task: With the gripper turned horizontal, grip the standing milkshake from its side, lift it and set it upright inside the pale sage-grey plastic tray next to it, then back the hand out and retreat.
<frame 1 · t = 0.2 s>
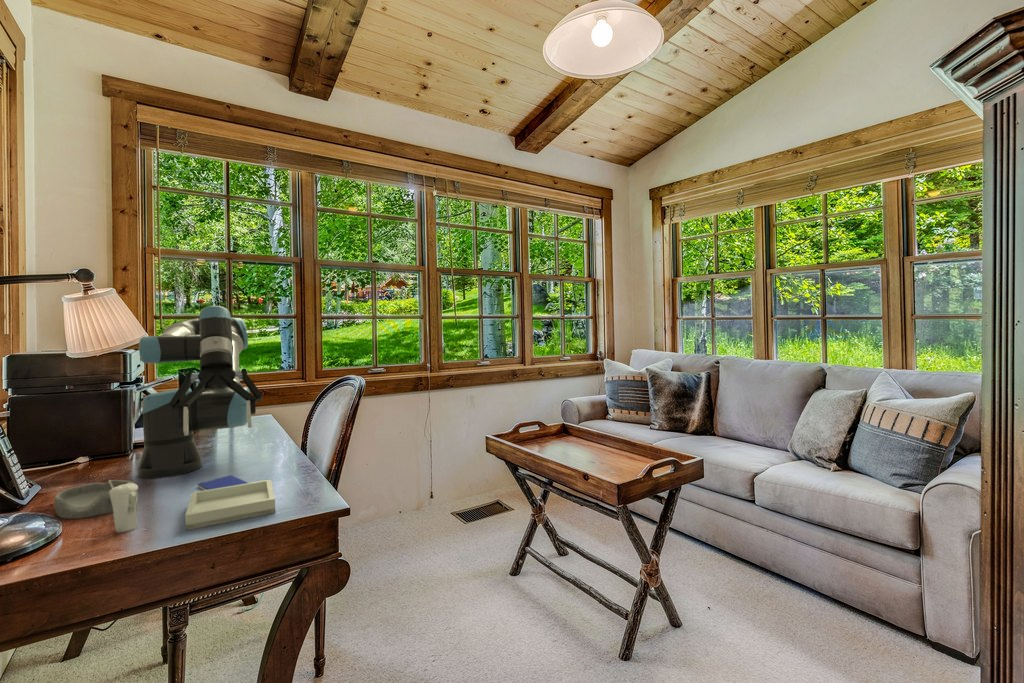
hand: (218, 429, 119), 15 cm above the table, tool tilted 35°, fingers open, 13 cm apart
milkshake: (124, 530, 97), on the table
tray: (233, 508, 106), on the table
hard drive: (225, 490, 122), on the table
dish: (97, 510, 109), on the table
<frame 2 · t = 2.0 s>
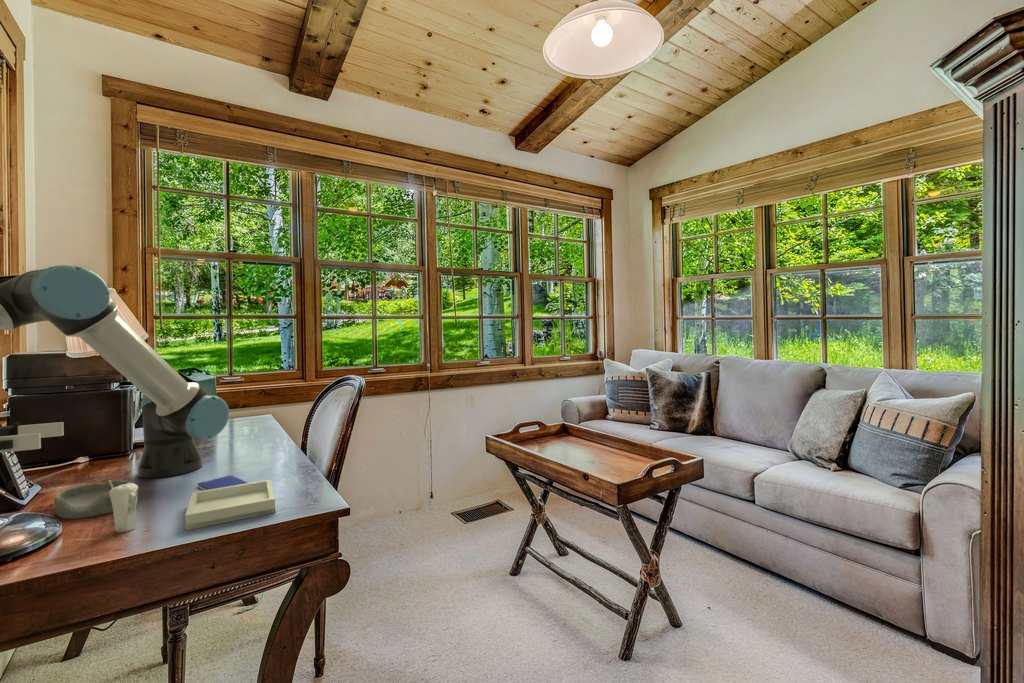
hand: (52, 434, 91), 21 cm above the table, tool horizontal, fingers open, 13 cm apart
nothing on the table moved.
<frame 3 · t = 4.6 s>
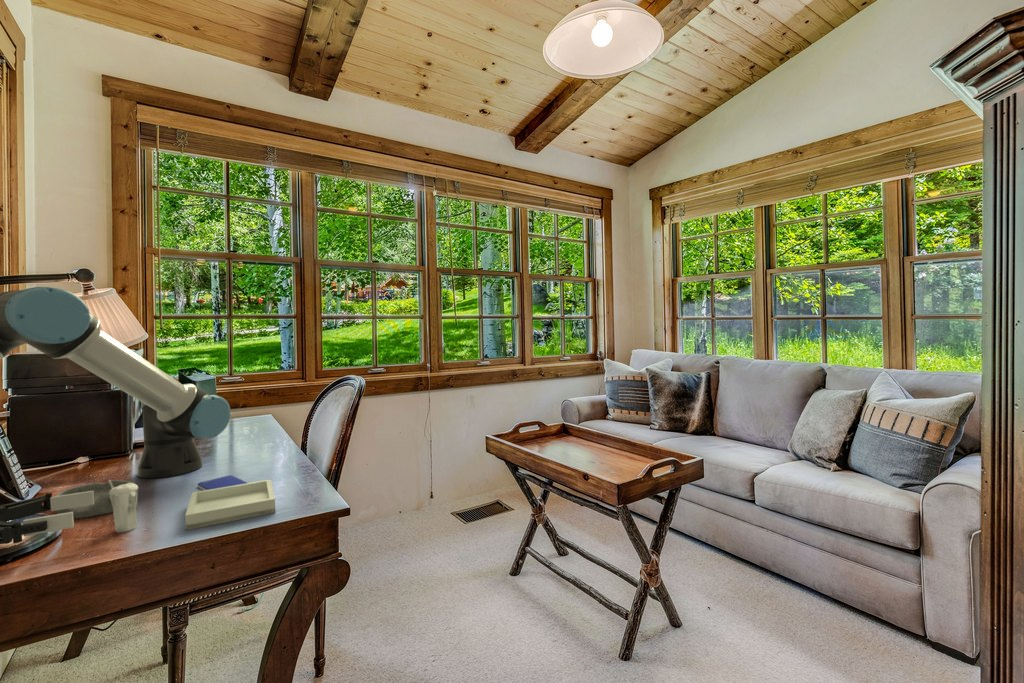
hand: (84, 507, 93), 6 cm above the table, tool horizontal, fingers open, 13 cm apart
nothing on the table moved.
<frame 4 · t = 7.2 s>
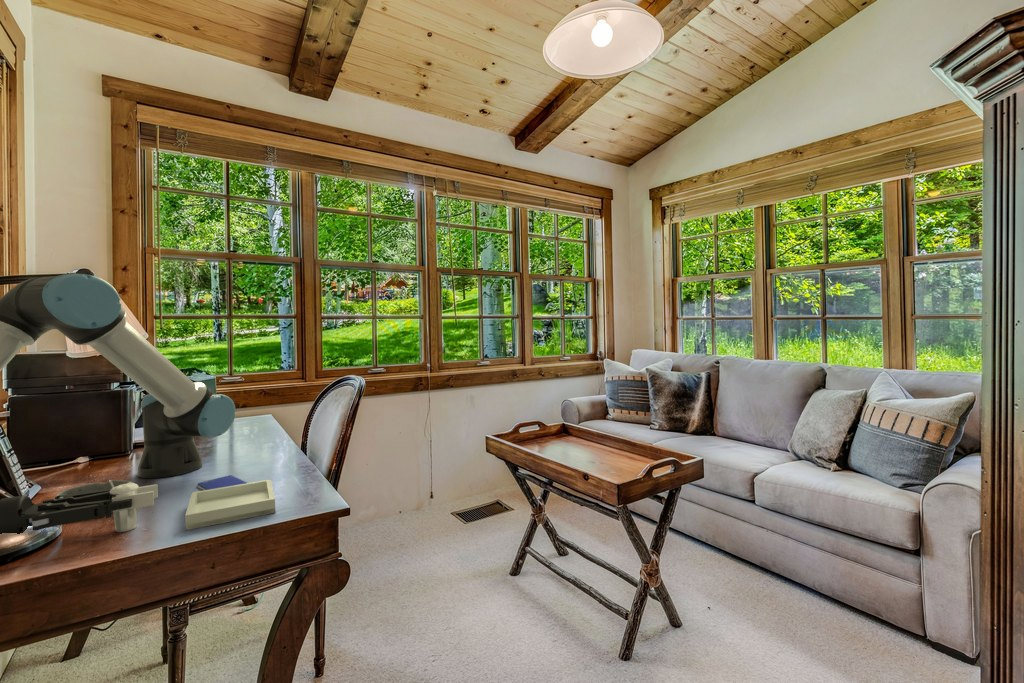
hand: (155, 494, 99), 6 cm above the table, tool horizontal, fingers closed on milkshake, 4 cm apart
milkshake: (124, 530, 97), on the table, touching gripper
everything else where it was.
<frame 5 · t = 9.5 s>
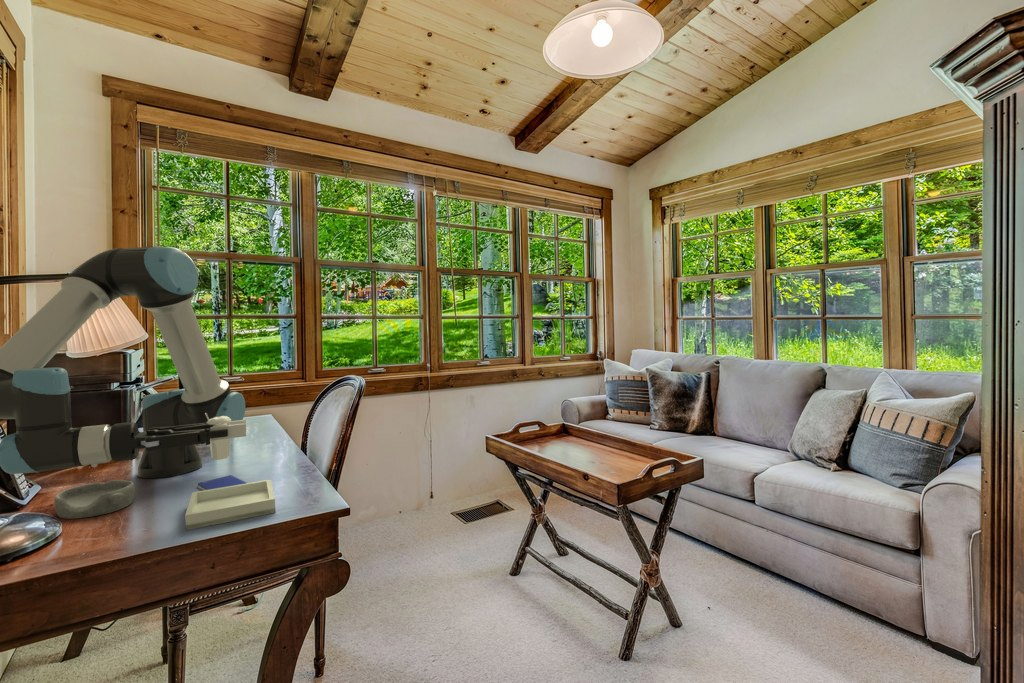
hand: (245, 427, 106), 18 cm above the table, tool horizontal, fingers closed on milkshake, 4 cm apart
milkshake: (219, 459, 104), point 12 cm above the table, touching gripper
everything else where it was.
when the fingers open (8 cm above the table, at t = 11.8 s): milkshake drops 1 cm, resting on tray.
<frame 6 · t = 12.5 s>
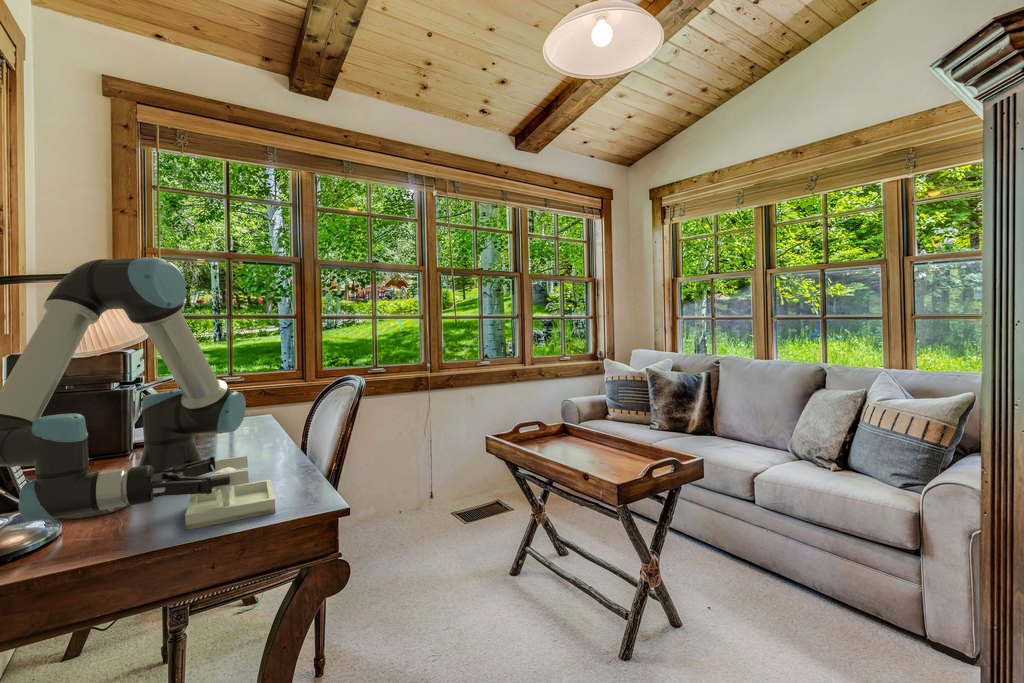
hand: (248, 468, 107), 8 cm above the table, tool horizontal, fingers open, 13 cm apart
milkshake: (225, 511, 102), point 1 cm above the table, touching tray
everything else where it was.
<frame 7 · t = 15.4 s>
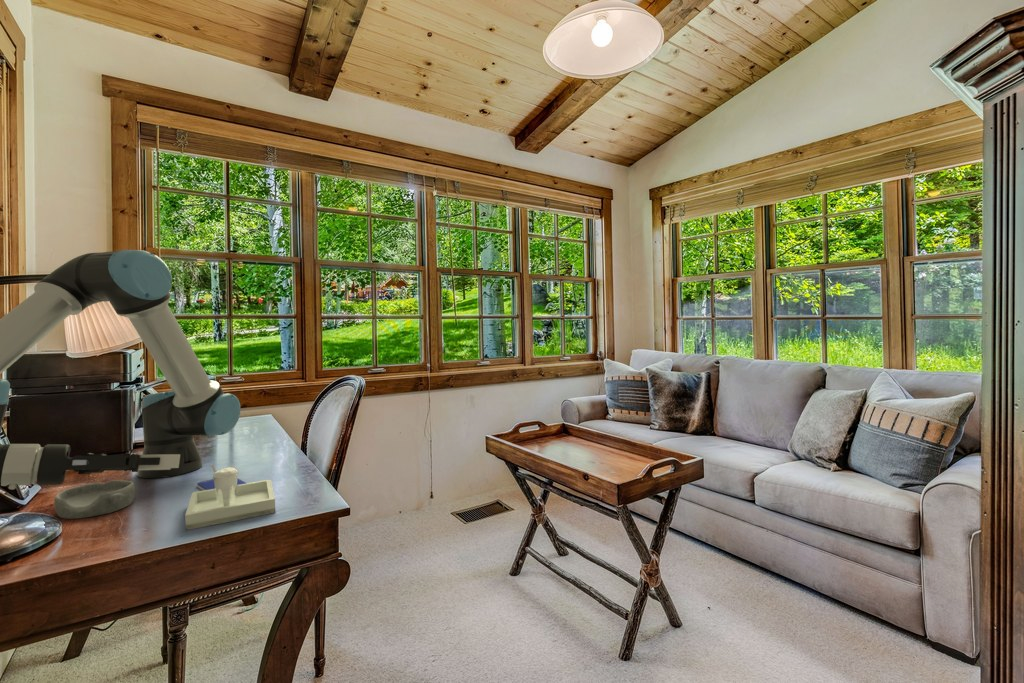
hand: (175, 462, 103), 11 cm above the table, tool horizontal, fingers open, 13 cm apart
nothing on the table moved.
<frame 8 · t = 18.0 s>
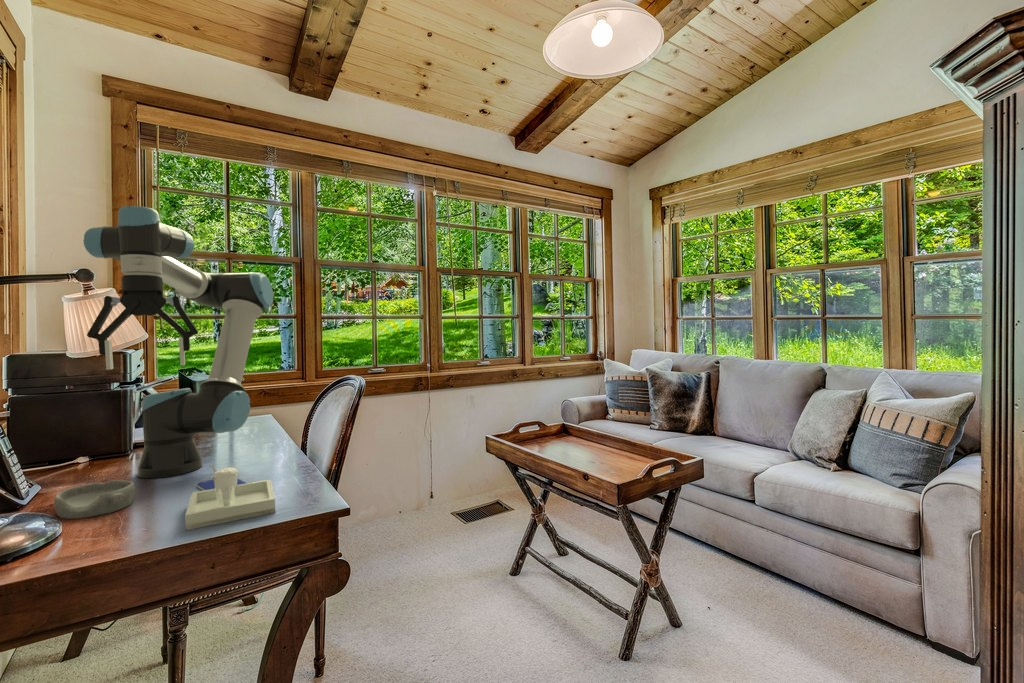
hand: (147, 367, 111), 32 cm above the table, tool pointing down, fingers open, 13 cm apart
nothing on the table moved.
at the end: milkshake inside the target area on the tray (3.9 cm from its centre), point 0.8 cm above the tray's base; milkshake tilted 0°; the gripper is holding nothing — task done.
